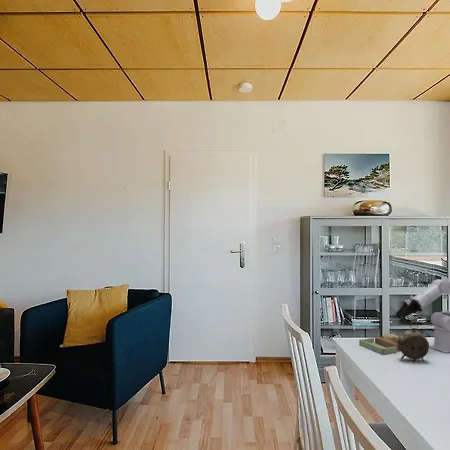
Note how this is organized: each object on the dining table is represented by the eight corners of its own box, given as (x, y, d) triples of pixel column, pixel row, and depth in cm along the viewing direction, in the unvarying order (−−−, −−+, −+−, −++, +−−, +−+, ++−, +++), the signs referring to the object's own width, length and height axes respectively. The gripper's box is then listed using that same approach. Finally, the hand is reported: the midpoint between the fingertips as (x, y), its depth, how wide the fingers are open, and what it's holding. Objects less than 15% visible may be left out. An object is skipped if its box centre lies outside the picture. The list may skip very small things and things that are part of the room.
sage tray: (372, 343, 175) (372, 337, 175) (397, 352, 162) (397, 346, 162) (359, 345, 172) (359, 339, 172) (382, 355, 159) (382, 349, 159)
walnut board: (389, 341, 177) (389, 335, 177) (410, 349, 166) (410, 342, 166) (374, 343, 174) (374, 337, 174) (395, 352, 163) (395, 345, 163)
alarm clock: (424, 359, 154) (425, 319, 154) (430, 364, 148) (431, 323, 148) (397, 358, 155) (397, 319, 155) (401, 363, 149) (402, 322, 150)
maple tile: (391, 338, 172) (391, 333, 172) (399, 341, 168) (399, 336, 168) (383, 339, 171) (383, 334, 171) (391, 342, 167) (391, 337, 167)
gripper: (412, 291, 174) (389, 308, 173) (425, 288, 160) (400, 305, 159) (423, 304, 172) (399, 321, 171) (437, 302, 158) (411, 320, 157)
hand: (400, 314), depth 165 cm, fingers open, 7 cm apart
